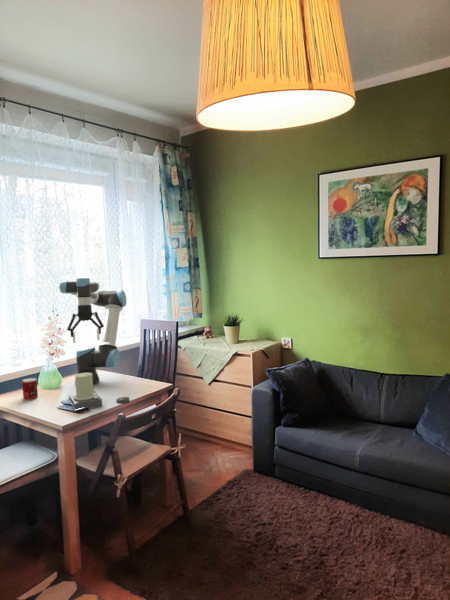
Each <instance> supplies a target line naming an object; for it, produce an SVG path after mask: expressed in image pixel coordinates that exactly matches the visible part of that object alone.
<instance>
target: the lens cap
mask: <svg viewBox="0 0 450 600" xmlns="http://www.w3.org/2000/svg"><path fill="white" fill-rule="evenodd" d="M115 402H116V404H126V403H128V402H130V397H129V396H121V397H118V398H116V401H115Z"/></svg>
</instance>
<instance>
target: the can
mask: <svg viewBox="0 0 450 600" xmlns="http://www.w3.org/2000/svg"><path fill="white" fill-rule="evenodd" d="M74 376H75V380H76V385H75V394H76V397H78V398H86V397H90V396H93V395H94V393H93V390H94V385H93V379H92V373H80V374H77V373H76V374H75V375H74ZM75 380H74V381H75Z"/></svg>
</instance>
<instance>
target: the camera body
mask: <svg viewBox="0 0 450 600" xmlns="http://www.w3.org/2000/svg"><path fill="white" fill-rule="evenodd" d="M93 393H94V395H93V396H90V397H86V398H78V397H76V393H73V394H69V395H68V400H70V401H71V403H72V404H73V407H74V408H75V409H78V408H82V407H87V408H88V409H87V410H89V409H96V408H101V407H103V399H102V398H101V396H100V395H99V394H98V393H97V392H96V391H95V390H94V389H93ZM73 407H72V408H73ZM74 408H73V409H74Z"/></svg>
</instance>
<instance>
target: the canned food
mask: <svg viewBox="0 0 450 600" xmlns="http://www.w3.org/2000/svg"><path fill="white" fill-rule="evenodd" d="M21 383H22V384H21V386H22V395H23V396H22V397H23V400H24V401H30V400H31V401H32V400H36V399H37V398H38V395H39V394H38V379H37V378H36V377H29V378H24V379H22V381H21Z"/></svg>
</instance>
